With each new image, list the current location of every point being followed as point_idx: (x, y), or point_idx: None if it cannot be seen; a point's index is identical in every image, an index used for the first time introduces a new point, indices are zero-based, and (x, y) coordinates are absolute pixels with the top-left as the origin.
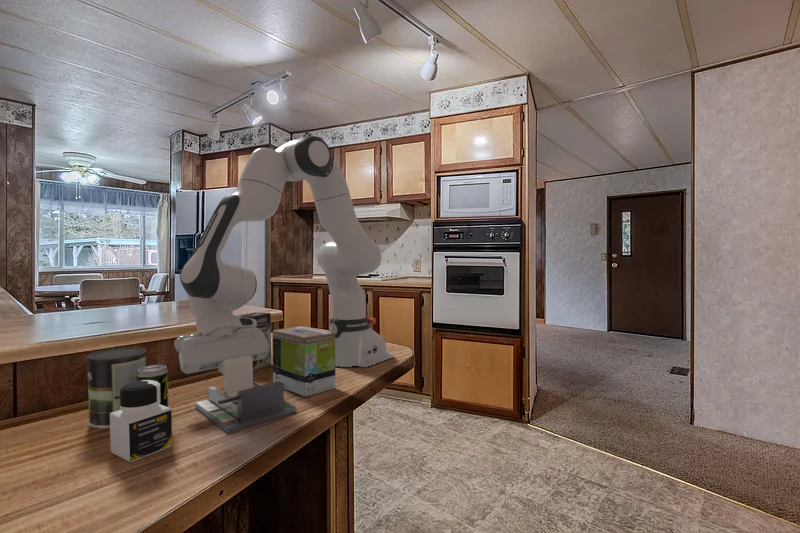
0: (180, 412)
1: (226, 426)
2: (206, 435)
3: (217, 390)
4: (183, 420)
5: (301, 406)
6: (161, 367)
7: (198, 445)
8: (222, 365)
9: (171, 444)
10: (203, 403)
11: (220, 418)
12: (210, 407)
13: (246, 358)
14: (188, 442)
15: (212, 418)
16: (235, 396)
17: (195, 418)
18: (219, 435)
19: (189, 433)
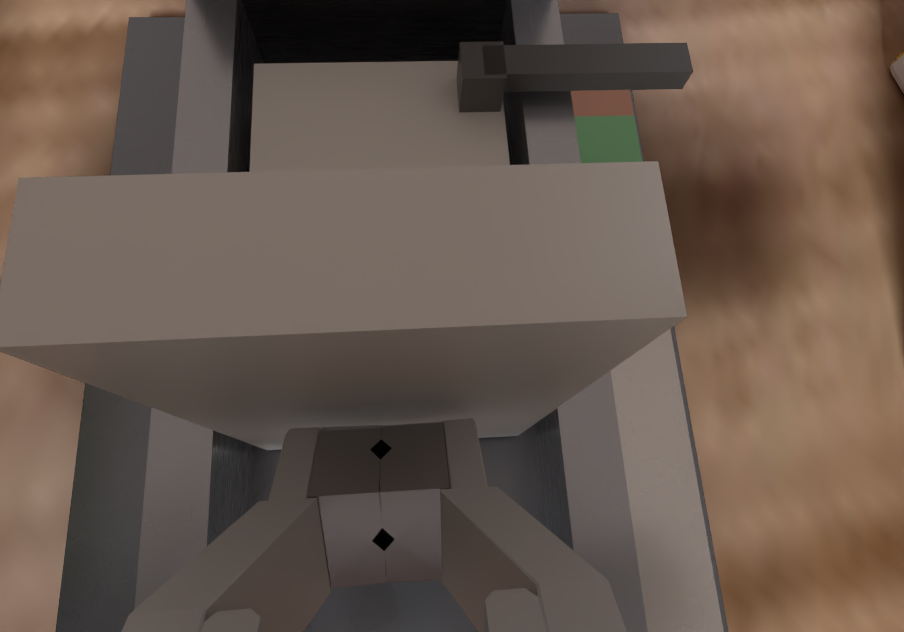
0: (829, 610)
1: (615, 35)
2: (711, 83)
3: (591, 487)
4: (815, 406)
5: (48, 100)
6: None
7: (764, 4)
8: (589, 587)
9: (898, 56)
10: (671, 565)
11: (625, 141)
12: (638, 411)
13: (184, 186)
14: (806, 64)
15: None
16: (538, 65)
17: (735, 386)
18: (650, 40)
19: (793, 168)
